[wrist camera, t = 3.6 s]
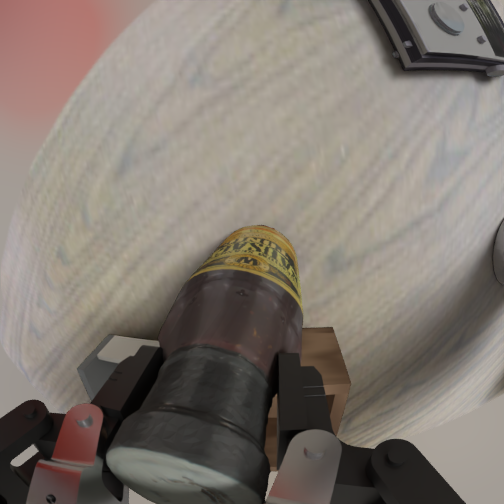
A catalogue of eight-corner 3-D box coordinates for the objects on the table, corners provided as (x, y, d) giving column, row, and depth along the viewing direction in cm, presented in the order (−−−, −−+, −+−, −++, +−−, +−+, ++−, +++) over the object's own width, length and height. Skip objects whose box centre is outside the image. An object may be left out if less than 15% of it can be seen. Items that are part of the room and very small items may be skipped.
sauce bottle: (302, 229, 23) (398, 447, 3) (286, 299, 24) (297, 537, 5) (223, 214, 23) (40, 371, 4) (212, 284, 24) (102, 496, 5)
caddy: (332, 327, 25) (351, 383, 17) (318, 415, 28) (324, 469, 20) (184, 324, 26) (154, 376, 18) (200, 412, 29) (184, 463, 21)
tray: (230, 346, 24) (217, 393, 18) (236, 416, 27) (228, 461, 21) (108, 334, 26) (76, 368, 19) (131, 401, 28) (110, 437, 22)
